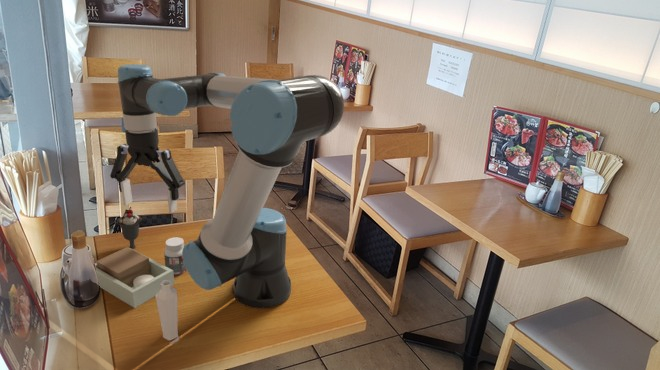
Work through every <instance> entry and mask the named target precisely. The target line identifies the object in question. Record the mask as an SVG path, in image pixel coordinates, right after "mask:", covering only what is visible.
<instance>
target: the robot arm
mask: <svg viewBox="0 0 660 370" xmlns="http://www.w3.org/2000/svg"><path fill="white" fill-rule="evenodd" d="M153 76H154V75H153V73H152V68H151V67H150V66H149V65H147V64H141V63H140V64H137V63H136V64H135V63H134V64H133V63H132V64H131V63H130V64H125V65H121V66H119V67H118V69H117V77H118V78H117V79H118V81H117V84H118V90H119V94H120V101H121V102H120V103H121V109H122V118H123V126H124V127H123V128H124V129H125V131H124V132H125V133H124V135H125V142H126V143H123V144H120V145H118V146H117V147H116V151H117V152H116V158H115V160H114V163H113V167H112V169H111V172H110V174H109V176H110V178H111V179H115V180H116V181H117V182H118V189H119V192H120V193H121V196H122V205H123V206H128V205H130V204H131V203H133V194H132V187H131V180H130V179H129V175H130V174H131V172H132V171H133V170H134V169H135V167H136V166H144V167H150V168H151V169H152V170H154V171H155V172H156V174H157V175H158V176H159V177H160V179H162V180H163V182H164V183H165V185H166V186H167V187H168V188H167V189H166V193H167V195H166V196H167V205H168V213H171V214H173V213H174V212H175V211H177V210H178V202H177V201H178V199H179V197H180V196H179V195H180V193H179V189H180V188H181V187H183V186H184V185H185V184H186V182H185V180H184V178H183V176H182V174H181V173H180V171H179V169H178V167H177V164H176V163H175V160H174V159H173V157H172V156H173V155H172V152H171V150H170V148H167V149H165V150H160V148H159V144H160V143H159V141H160V140H159V131H158V129H157V127H158V124H157V123H158V121H157V114H158V115H161V116H167V117H176V116H178V115H179V114H181V113H183V111H184V110H188V109H195V108H200V107H214V108H215V107H216V108H221V109H229V110H230V112H229V113H230V114H229V121H230V122H231V123H232V125H230V130H231V131H230V132H231V135H232V136H233V139H234V141H235V144H236V146H237V147H236V148H238V152H237V153H238V154H237V155H236V158H235V160H234V163H233V165H232V168H231V171H230V175H229V177H228V179H227V182H226V183H225V188H224V189H223V193H222V195H221V198H220V200H219V203H218V205H217V208H216V211H215V212H214V213H215V214H214V216H213V218H211V219H209V220H208V221H206V223H204V225H203V226H202V228H201V229H200V231H199V234H198V235H199V236H198V238H197V239H195V240H193V241H192V240H190V241H189V242H188V243H186V244H184V247H183V251H182V256H183V261H184V264H185V266H186V269H187V271H186V272H187V273H188V274H189V276H190V277H191V279H192V280H193V282H194V283H195V284H196V285H197V286H198V287H199V288H201V289H204V290H206V291H210V290H213V289H216V288H218V287H221V286H222V285H224V284H226V283H228V282H230V281H231V280H233V279H234V280H233V293H234V296H235V297H234V298H235V300H236V301H237V302H238V303H240V304H241V305H243V306H246V307H249V308H252V309H254V308H255V309H268V308H274V307H277V306H280V305H281V304H283V303H285V302H286V301H287V300H288V299H289V298H290V295H291V293H292V282H291V278H290V277H289V274H288V269H287V266H286V251H287V250H286V248H287V232H288V229H287V220H286V218H285V216H284V215H283V213H281V212H279V211H278V210H275V209H274V208H273V209H271V208H268V207H265V204H266V202H267V200H268V198H269V196H270V193H271V191H272V189H273V187H274V185H275V183H276V181H277V179H278V176H279V174H280V172H281V170H282V168H287V167H289V166H290V165H292V163H294V161H295V160H296V157H297V155H298V154H299V151H300V150H301V148H302V146H303V144H304V143H305V142H307V141H310V140H314V139H317V138H321V137H324V136H326V135H328V134H330V133H331V132H332V131H334V130H335V129H336V128H337V127H338V125H339V124H340V122H341V120H342V118H343V116H344V112H345V111H344V110H345V102H344V101H345V100H344V96H343V93H342V91H341V89H340V88H339V87H338V85H337V84H336V83H335V82H334V81H333V80H331V79H329V78H328V77H325V76H322V75H319V74H318V75H317V74H310V75H304V76H303V75H302V76H301V75H300V76H299V75H298V76H294V77H291V78H285V79H271V78H258V77H248V76H247V77H245V76H234V75H232V76H230V75H226V74H225V73H221V72H209V73H205V74H197V75H190V76H189V75H186V76H179V77H170V78H155V77H153ZM128 155H130V158H129V159H128V161H127V164H125V163H126V159H127V157H128ZM124 164H125V165H124Z"/></svg>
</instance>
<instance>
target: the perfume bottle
mask: <svg viewBox="0 0 660 370" xmlns="http://www.w3.org/2000/svg"><path fill="white" fill-rule="evenodd" d="M161 286H162V289H161V290H160V291H159V292H158V293H157V294H156V296H155V301H156V306H157V311H158V315H159V321H160V326H161V330H162V338H164V339H165V340H166V341H170V342H169V343H168V345H169V344H170V345H172V344H174V343H176V342H178V341H180V336H179V333H178V332H179V331H178V329H179V328H178V319H179V318H178V315H179V314H178V313H179V312H178V308H179V307H178V306H179V305H178V299H179V298H178V291H177V288H176V287H171V281H163V282H162V283H161Z"/></svg>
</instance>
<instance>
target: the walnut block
mask: <svg viewBox="0 0 660 370" xmlns="http://www.w3.org/2000/svg"><path fill="white" fill-rule="evenodd" d="M134 250H135V249H133V250H132V249H130V248H129V247H128V246H126V247H124V248H121V249H119V250H118V251H115V252H113V253H111V254H109V255H107V256H104V257H102V258H100V259H97V260H96V262H95V263H97V268H98V269H100V270H101V271H103V272H105V273H107V274H108V275H110V276H112V277H113V278H115V279H117V280H119V281H120V282H122V283H124V284H126V285H127V286H129V287H131V288H132V287H134V283H133V281H134V279H135V278H137V277H138V276H141V275H151V274H150V264H149V258H150V257H148V256H146V255H144V254H143V253H141V254H140V252H139V253H138V251H137V250H135V251H134ZM136 251H137V252H136ZM142 254H143V255H142Z"/></svg>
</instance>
